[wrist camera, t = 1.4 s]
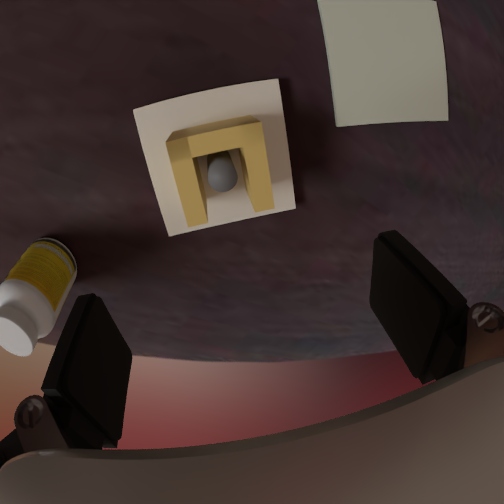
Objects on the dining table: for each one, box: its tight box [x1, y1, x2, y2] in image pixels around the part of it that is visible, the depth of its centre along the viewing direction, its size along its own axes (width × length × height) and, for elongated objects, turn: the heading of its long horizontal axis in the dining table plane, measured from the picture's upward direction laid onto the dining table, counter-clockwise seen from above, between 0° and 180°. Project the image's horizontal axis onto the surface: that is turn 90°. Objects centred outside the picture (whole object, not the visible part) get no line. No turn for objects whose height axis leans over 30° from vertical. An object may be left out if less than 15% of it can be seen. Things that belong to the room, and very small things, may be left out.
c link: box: [165, 115, 275, 227], centre depth 23 cm, size 6×6×5 cm
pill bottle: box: [0, 238, 77, 356], centre depth 23 cm, size 6×6×12 cm
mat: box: [317, 0, 448, 127], centre depth 22 cm, size 14×14×1 cm
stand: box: [133, 79, 296, 236], centre depth 23 cm, size 12×12×6 cm
